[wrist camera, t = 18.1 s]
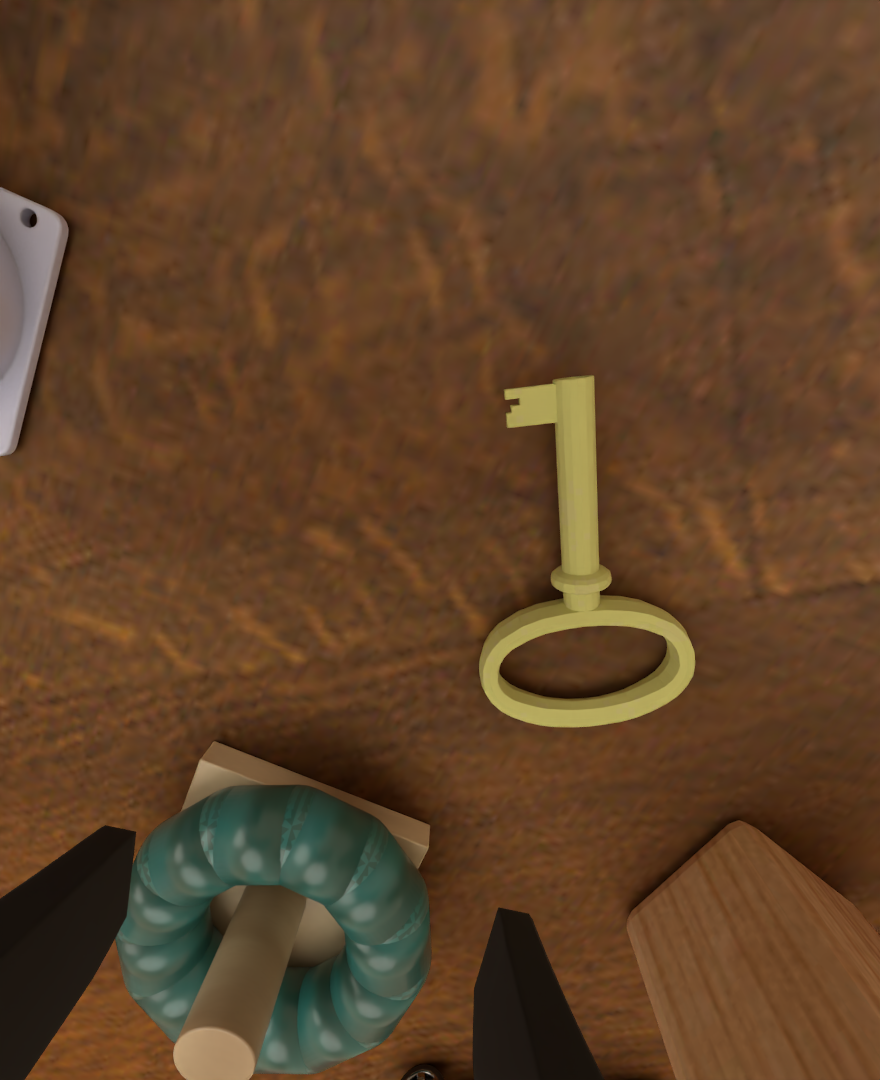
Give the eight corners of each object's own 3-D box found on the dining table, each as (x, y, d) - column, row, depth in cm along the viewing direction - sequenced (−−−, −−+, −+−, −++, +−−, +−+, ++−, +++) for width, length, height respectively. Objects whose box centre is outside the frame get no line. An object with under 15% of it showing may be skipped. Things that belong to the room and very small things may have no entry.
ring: (106, 937, 22) (51, 1018, 19) (211, 717, 20) (168, 770, 17) (355, 1046, 23) (340, 1139, 20) (484, 847, 20) (488, 919, 17)
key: (573, 356, 18) (589, 348, 15) (700, 680, 20) (728, 711, 18) (372, 451, 18) (361, 456, 16) (515, 750, 21) (522, 788, 19)
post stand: (148, 915, 23) (26, 1114, 16) (213, 740, 21) (104, 885, 15) (348, 989, 24) (306, 1210, 17) (430, 824, 22) (418, 1002, 15)
